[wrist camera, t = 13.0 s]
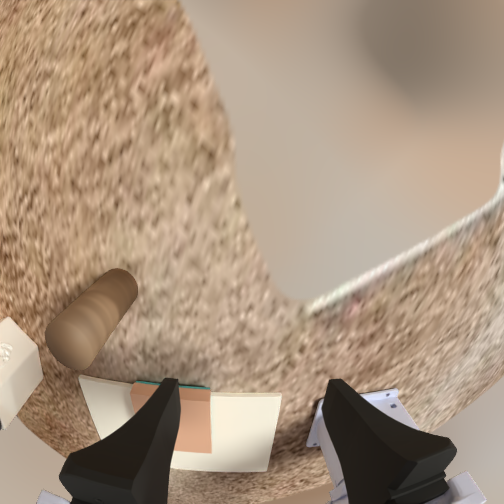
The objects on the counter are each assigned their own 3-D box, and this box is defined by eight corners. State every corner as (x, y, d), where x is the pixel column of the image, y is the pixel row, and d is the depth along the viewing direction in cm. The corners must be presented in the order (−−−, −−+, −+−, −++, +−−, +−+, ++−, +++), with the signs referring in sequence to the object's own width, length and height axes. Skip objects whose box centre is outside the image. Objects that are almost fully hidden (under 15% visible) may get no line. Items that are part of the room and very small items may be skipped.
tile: (210, 401, 22) (211, 453, 23) (210, 386, 23) (212, 439, 25) (129, 393, 21) (144, 446, 23) (135, 379, 23) (147, 433, 25)
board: (280, 392, 25) (281, 396, 24) (266, 467, 28) (266, 471, 28) (80, 374, 23) (78, 377, 23) (110, 453, 27) (109, 456, 26)
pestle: (136, 269, 21) (86, 324, 12) (139, 307, 22) (97, 374, 13) (100, 267, 21) (39, 316, 12) (104, 303, 22) (53, 364, 13)
